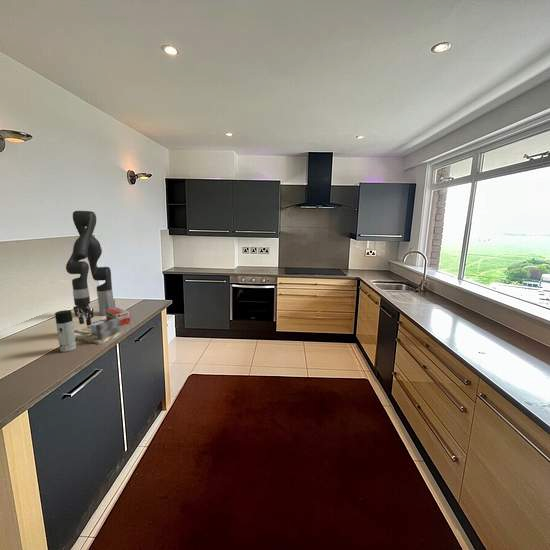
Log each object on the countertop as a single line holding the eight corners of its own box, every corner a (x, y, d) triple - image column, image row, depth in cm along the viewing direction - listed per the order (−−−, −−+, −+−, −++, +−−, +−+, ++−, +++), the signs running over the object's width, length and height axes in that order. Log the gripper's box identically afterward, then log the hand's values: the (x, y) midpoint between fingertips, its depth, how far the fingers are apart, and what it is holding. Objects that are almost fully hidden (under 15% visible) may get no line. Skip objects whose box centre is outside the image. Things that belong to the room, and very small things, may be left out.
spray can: (62, 347, 149) (56, 310, 145) (77, 345, 152) (72, 309, 148) (58, 353, 143) (52, 314, 139) (75, 350, 146) (69, 312, 142)
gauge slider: (102, 330, 167) (100, 321, 166) (110, 332, 165) (108, 322, 164) (84, 337, 158) (83, 327, 157) (92, 339, 156) (91, 328, 154)
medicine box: (130, 323, 185) (129, 311, 184) (117, 326, 179) (116, 314, 177) (118, 318, 194) (117, 307, 192) (106, 322, 187) (104, 310, 186)
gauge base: (93, 327, 177) (91, 312, 176) (124, 333, 168) (123, 317, 166) (66, 337, 163) (64, 321, 161) (99, 344, 153) (96, 327, 152)
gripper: (96, 295, 165) (100, 323, 168) (79, 293, 170) (83, 320, 173) (83, 299, 158) (87, 328, 161) (66, 296, 163) (70, 325, 167)
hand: (85, 324), depth 167 cm, fingers open, 5 cm apart
